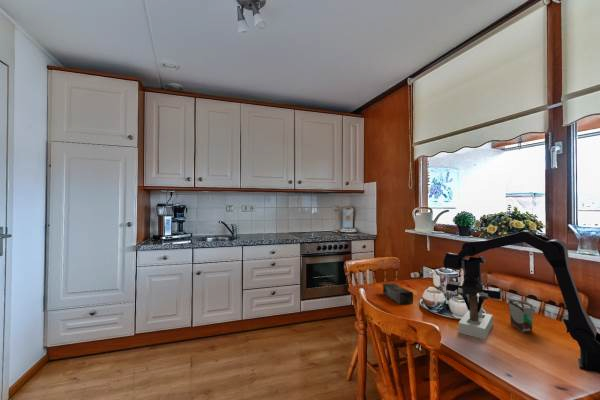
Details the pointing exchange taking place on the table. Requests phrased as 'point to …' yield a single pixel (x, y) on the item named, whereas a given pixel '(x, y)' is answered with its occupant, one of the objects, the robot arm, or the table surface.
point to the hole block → (476, 325)
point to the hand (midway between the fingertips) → (473, 311)
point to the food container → (521, 315)
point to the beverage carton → (398, 293)
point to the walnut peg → (473, 308)
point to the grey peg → (480, 313)
